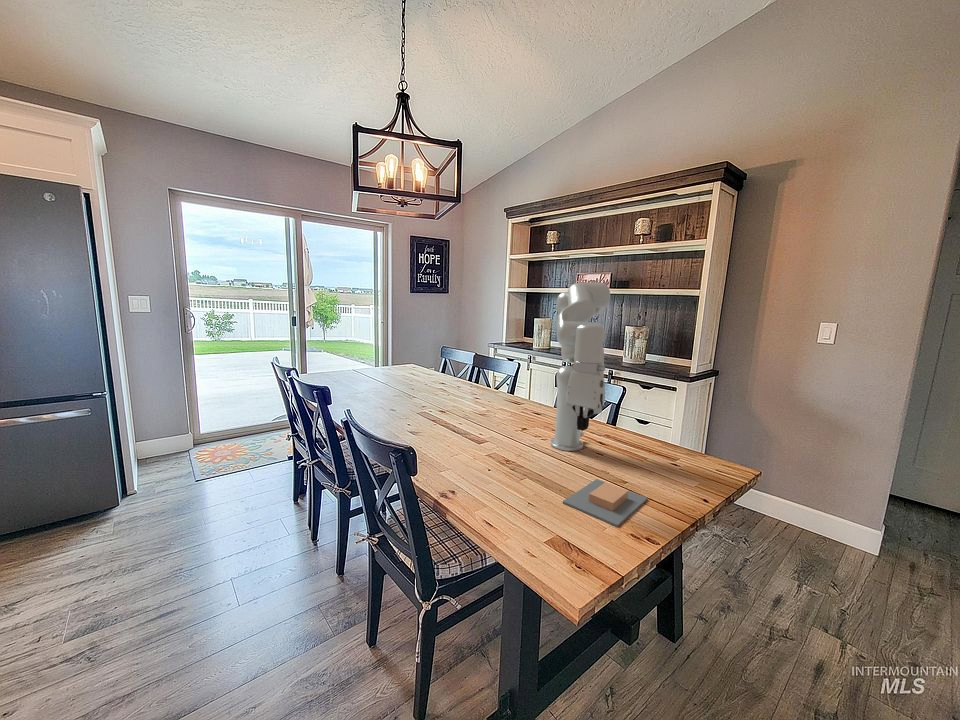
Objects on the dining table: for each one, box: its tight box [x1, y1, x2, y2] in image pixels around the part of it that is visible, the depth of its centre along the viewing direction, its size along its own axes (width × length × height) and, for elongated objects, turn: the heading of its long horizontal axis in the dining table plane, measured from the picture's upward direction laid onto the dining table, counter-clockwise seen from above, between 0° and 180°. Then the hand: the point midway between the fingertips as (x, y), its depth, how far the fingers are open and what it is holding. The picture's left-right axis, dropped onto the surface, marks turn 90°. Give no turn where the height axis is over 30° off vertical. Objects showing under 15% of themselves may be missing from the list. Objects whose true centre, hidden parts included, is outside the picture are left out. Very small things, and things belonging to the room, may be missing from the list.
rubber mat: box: [562, 478, 648, 528], centre depth 112 cm, size 20×16×1 cm
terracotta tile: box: [589, 481, 629, 511], centre depth 111 cm, size 10×2×7 cm
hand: (582, 429), depth 115 cm, fingers closed
